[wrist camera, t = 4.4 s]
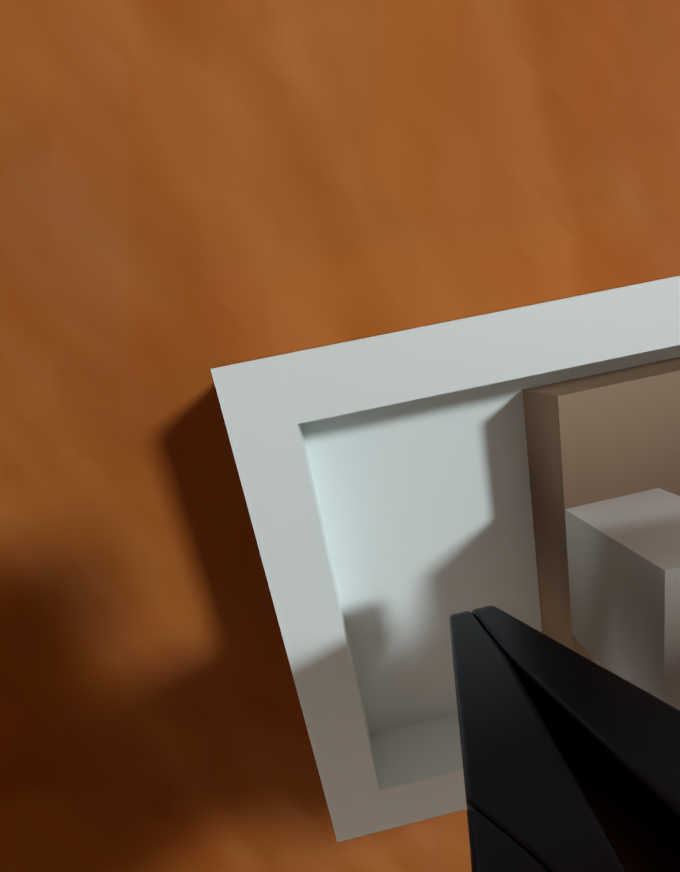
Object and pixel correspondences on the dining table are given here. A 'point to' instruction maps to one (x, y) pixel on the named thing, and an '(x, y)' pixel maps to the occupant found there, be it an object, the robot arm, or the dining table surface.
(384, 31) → the dining table surface
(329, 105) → the dining table surface
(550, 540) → the cover plate
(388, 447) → the open box
